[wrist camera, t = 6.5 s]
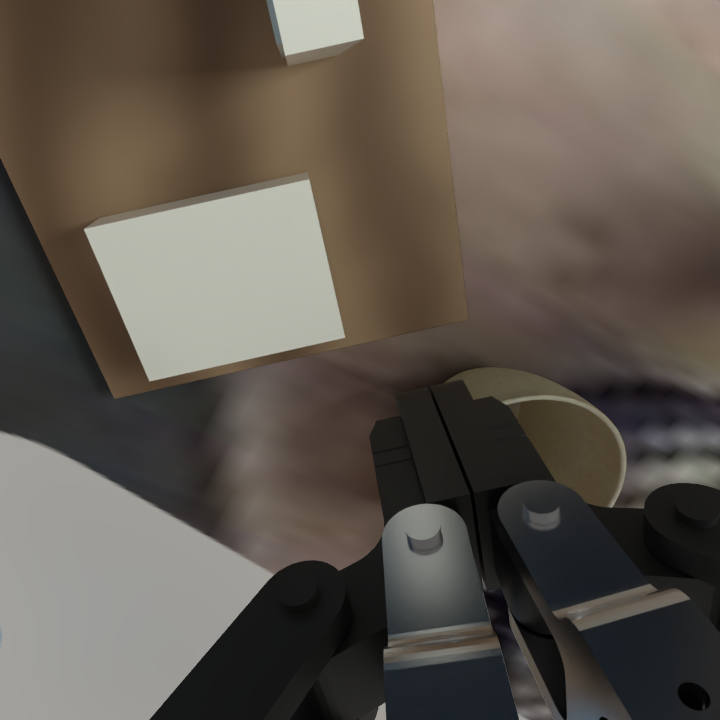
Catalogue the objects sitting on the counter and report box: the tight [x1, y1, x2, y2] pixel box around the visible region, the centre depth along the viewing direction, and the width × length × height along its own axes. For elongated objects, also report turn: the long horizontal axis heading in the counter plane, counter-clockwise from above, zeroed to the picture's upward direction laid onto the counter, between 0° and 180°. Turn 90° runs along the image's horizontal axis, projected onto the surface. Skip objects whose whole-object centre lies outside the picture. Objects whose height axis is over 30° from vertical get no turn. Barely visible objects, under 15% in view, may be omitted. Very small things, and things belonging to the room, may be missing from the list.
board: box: [0, 0, 468, 399], centre depth 23 cm, size 18×21×1 cm
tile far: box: [84, 172, 345, 381], centre depth 24 cm, size 2×7×9 cm
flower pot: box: [444, 367, 626, 508], centre depth 28 cm, size 10×10×7 cm
